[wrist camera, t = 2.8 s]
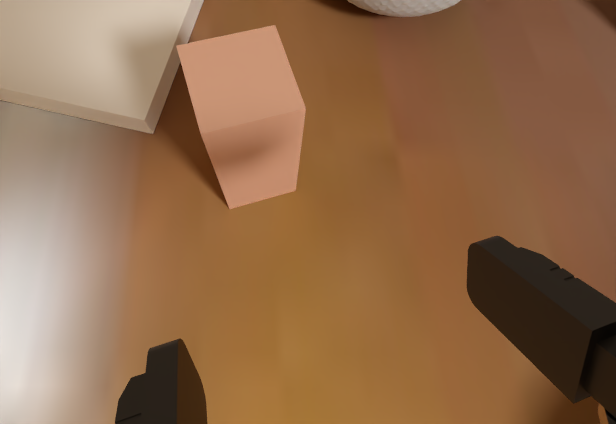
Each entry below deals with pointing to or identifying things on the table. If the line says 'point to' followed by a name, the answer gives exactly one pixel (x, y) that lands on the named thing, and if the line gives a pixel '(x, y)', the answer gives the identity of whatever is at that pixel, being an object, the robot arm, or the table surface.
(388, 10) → the cereal bowl
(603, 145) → the table surface
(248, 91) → the terracotta block
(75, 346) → the table surface
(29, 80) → the off-white board
